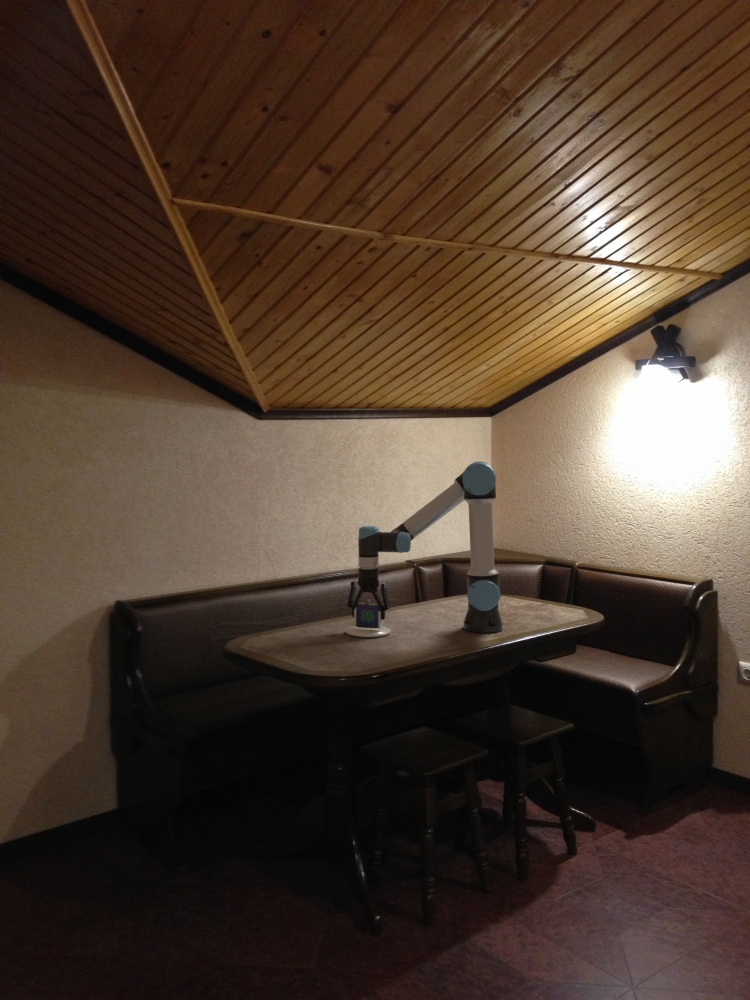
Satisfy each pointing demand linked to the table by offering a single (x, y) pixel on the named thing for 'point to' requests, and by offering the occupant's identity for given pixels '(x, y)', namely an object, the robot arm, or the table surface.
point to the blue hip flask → (367, 615)
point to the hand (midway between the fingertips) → (368, 626)
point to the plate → (368, 631)
